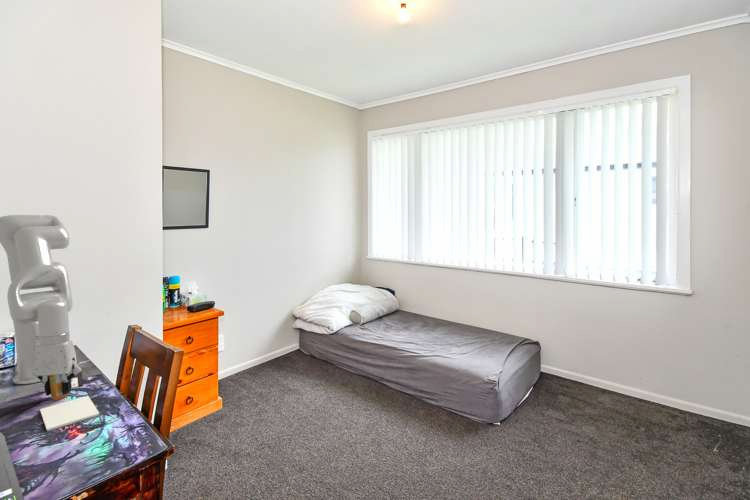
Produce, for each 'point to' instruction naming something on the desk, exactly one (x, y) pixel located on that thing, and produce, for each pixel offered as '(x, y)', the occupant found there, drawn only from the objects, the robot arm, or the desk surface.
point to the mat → (68, 413)
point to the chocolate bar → (77, 380)
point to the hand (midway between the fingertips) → (58, 392)
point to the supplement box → (56, 387)
